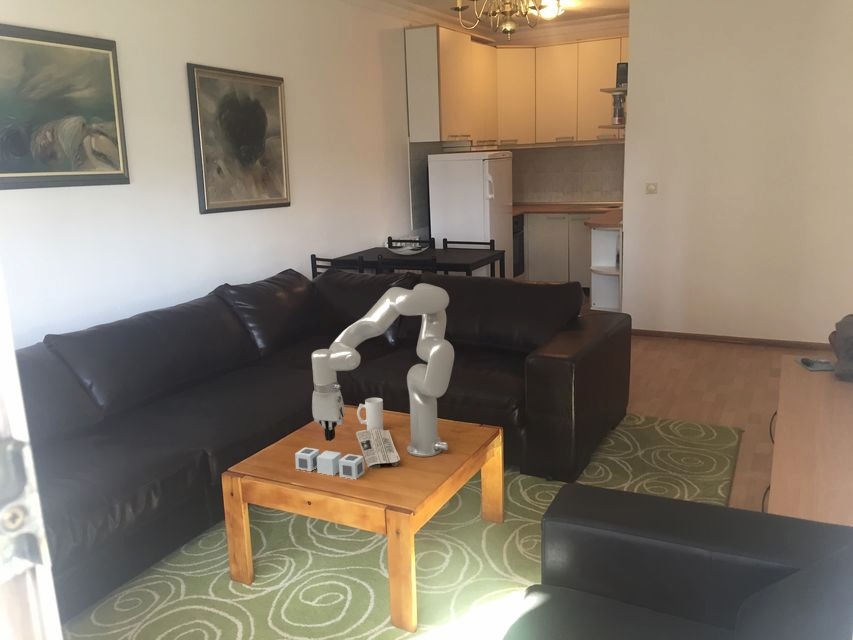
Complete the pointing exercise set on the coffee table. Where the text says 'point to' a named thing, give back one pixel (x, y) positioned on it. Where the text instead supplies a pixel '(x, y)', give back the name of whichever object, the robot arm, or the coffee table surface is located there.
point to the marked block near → (351, 466)
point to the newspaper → (377, 447)
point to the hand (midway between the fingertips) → (330, 439)
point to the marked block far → (307, 459)
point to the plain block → (328, 462)
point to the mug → (372, 413)
